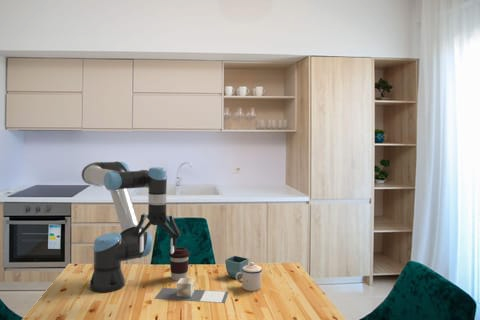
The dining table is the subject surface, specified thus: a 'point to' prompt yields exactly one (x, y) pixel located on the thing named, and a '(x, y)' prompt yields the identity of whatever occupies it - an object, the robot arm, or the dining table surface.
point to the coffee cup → (179, 263)
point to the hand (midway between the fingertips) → (157, 252)
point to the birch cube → (185, 287)
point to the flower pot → (235, 266)
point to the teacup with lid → (251, 277)
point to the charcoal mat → (194, 295)
